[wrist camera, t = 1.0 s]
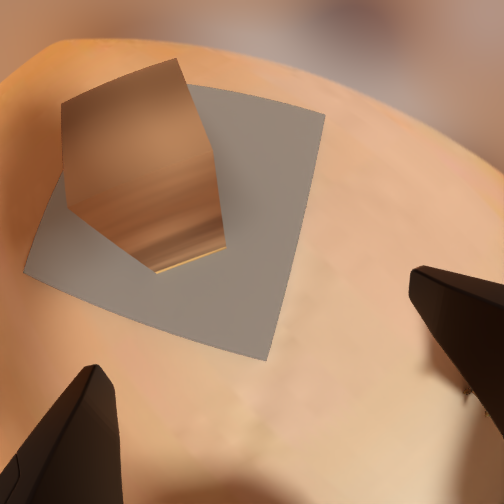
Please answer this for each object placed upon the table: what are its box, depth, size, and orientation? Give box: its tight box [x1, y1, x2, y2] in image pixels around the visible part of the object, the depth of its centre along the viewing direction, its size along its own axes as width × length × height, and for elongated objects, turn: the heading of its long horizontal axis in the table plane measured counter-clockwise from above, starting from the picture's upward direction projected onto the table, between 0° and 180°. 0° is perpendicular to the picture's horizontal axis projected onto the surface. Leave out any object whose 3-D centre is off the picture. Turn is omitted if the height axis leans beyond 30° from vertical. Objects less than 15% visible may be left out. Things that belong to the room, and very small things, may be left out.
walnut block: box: [61, 58, 227, 274], centre depth 15 cm, size 5×5×12 cm
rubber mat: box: [23, 84, 325, 361], centre depth 22 cm, size 20×20×1 cm
